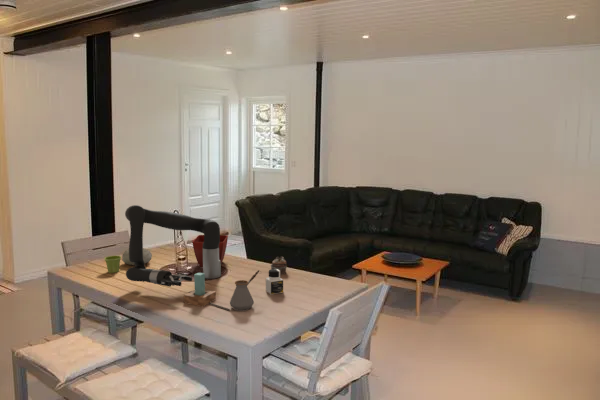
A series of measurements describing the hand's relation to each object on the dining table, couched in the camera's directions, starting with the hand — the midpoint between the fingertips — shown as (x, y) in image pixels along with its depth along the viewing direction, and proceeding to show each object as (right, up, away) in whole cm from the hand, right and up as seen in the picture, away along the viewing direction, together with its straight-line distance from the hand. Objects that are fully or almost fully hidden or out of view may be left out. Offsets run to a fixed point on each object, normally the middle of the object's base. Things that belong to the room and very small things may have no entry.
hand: (186, 281), depth 246 cm
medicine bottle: (+44, -8, +12) cm, 46 cm away
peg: (+7, -9, -2) cm, 12 cm away
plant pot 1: (-54, -2, +47) cm, 72 cm away
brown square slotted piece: (+7, -9, -2) cm, 12 cm away
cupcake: (+44, -3, +45) cm, 64 cm away
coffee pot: (+32, -10, -7) cm, 34 cm away
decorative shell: (-46, 0, +64) cm, 78 cm away
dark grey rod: (+18, -11, -10) cm, 23 cm away
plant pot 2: (+1, 0, +64) cm, 64 cm away
